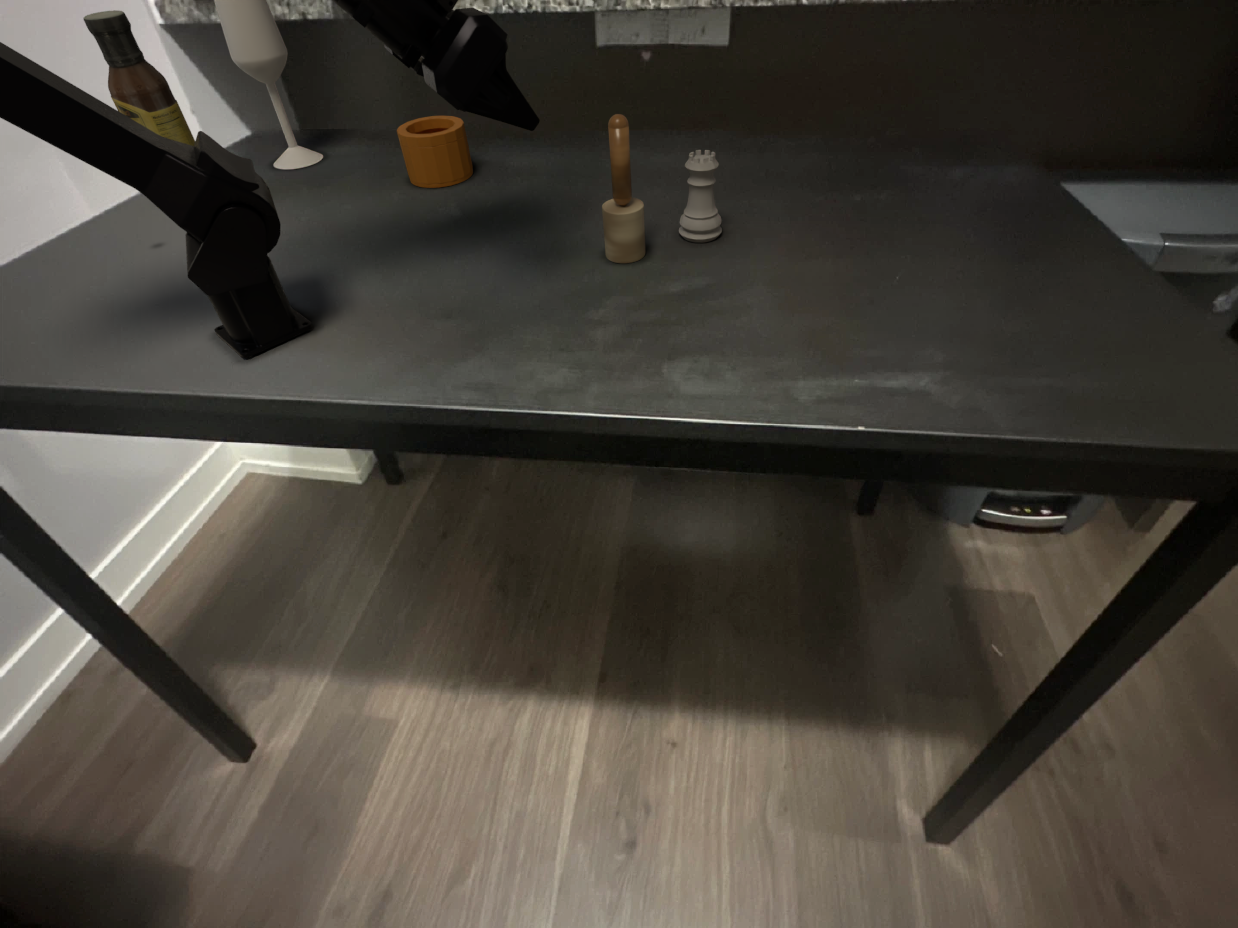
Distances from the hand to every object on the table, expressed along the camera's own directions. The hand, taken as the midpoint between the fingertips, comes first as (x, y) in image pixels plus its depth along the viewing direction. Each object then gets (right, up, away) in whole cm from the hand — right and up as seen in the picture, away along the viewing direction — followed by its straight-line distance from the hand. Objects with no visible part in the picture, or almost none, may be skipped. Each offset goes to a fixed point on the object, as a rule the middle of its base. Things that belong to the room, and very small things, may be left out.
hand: (517, 112), depth 60 cm
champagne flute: (-36, +11, +35) cm, 51 cm away
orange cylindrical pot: (-14, +6, +28) cm, 31 cm away
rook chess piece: (+17, -7, +11) cm, 22 cm away
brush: (+10, -10, +9) cm, 16 cm away
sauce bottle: (-45, +3, +27) cm, 53 cm away
